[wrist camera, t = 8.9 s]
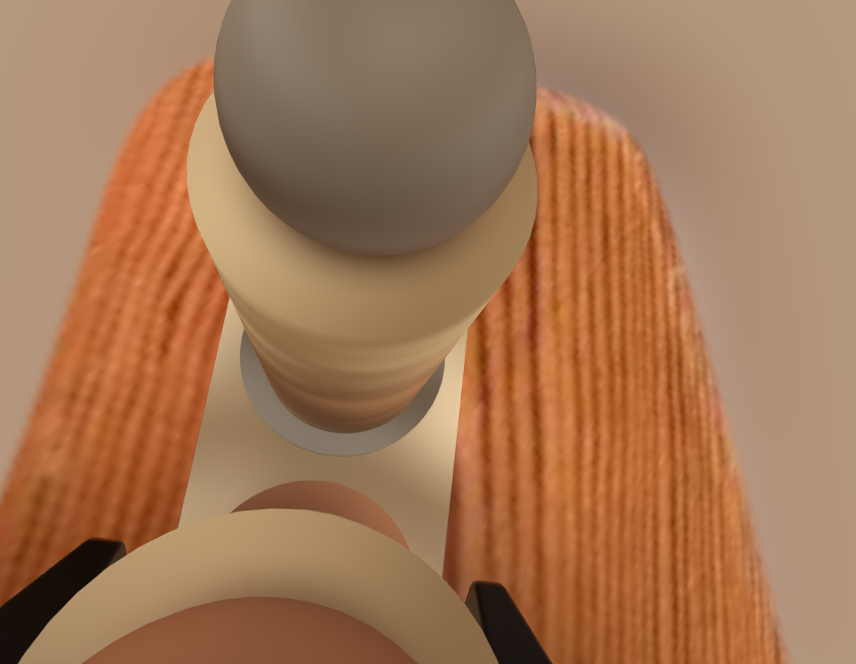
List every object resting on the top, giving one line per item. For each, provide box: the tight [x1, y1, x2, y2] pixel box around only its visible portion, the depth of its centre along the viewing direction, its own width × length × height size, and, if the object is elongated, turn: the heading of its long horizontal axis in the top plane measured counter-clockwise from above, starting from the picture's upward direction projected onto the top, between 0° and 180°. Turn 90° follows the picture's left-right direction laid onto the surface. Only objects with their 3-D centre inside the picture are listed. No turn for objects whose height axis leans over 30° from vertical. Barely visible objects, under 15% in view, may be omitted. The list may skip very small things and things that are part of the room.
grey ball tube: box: [187, 0, 537, 434], centre depth 11 cm, size 5×5×13 cm
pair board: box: [178, 298, 468, 577], centre depth 17 cm, size 13×7×1 cm, turn 173°
